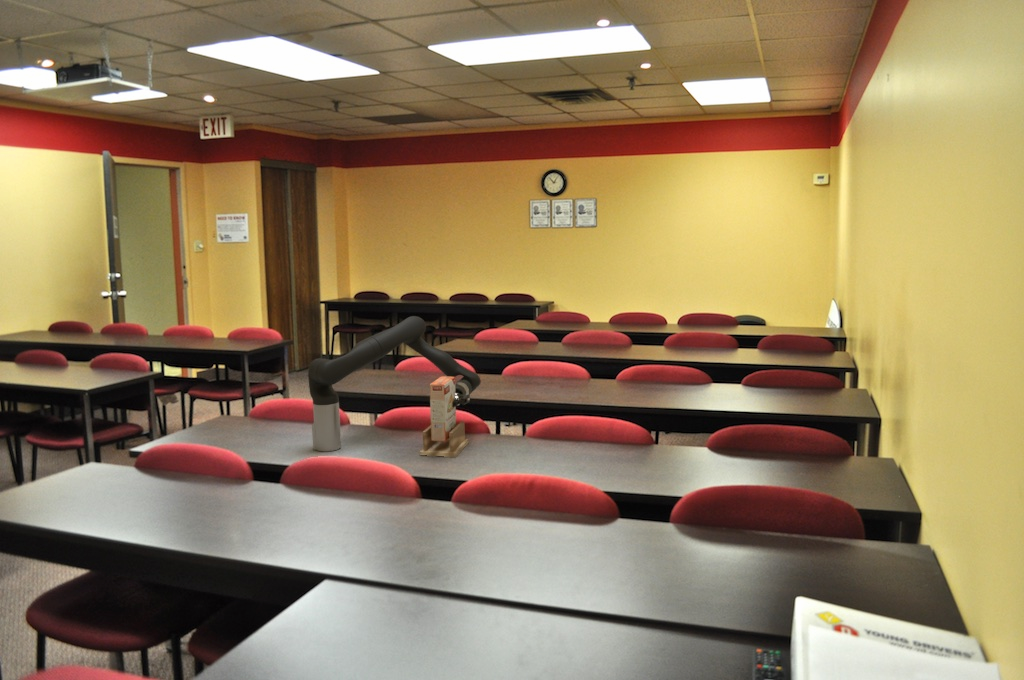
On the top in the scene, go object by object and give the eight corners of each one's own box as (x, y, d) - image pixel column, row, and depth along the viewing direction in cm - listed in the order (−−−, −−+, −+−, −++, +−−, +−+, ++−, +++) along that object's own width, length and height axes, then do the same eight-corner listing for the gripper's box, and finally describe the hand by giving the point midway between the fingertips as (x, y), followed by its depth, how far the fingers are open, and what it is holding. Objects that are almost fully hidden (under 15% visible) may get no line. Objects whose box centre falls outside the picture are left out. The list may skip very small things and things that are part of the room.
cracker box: (447, 442, 272) (444, 384, 269) (430, 441, 274) (428, 384, 270) (457, 431, 286) (455, 375, 282) (442, 430, 287) (439, 375, 284)
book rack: (419, 455, 273) (418, 432, 271) (434, 441, 290) (434, 419, 289) (455, 457, 270) (454, 433, 269) (468, 442, 288) (467, 420, 286)
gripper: (438, 383, 296) (425, 393, 280) (475, 384, 293) (463, 394, 277) (439, 402, 298) (426, 413, 281) (475, 403, 295) (464, 415, 278)
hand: (444, 404), depth 279 cm, fingers closed on cracker box, 6 cm apart
